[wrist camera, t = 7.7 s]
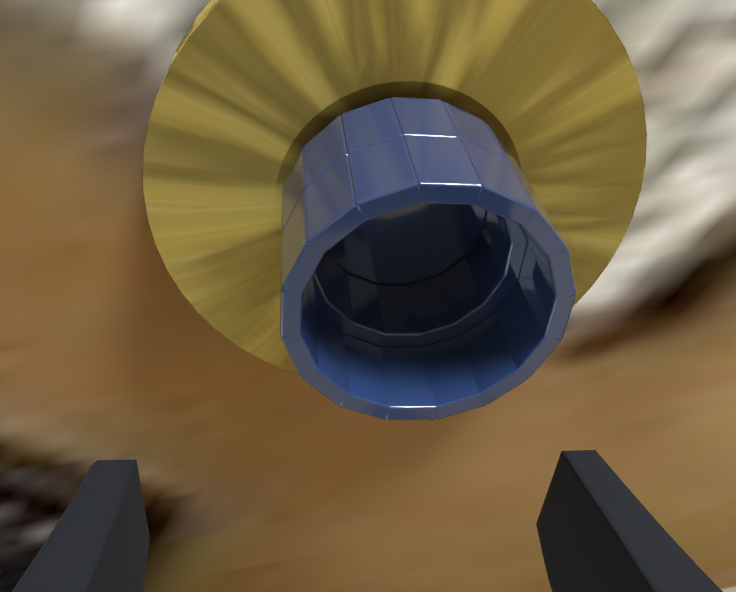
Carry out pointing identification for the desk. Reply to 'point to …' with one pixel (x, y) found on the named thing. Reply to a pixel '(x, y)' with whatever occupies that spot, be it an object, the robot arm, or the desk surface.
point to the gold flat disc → (363, 87)
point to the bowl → (417, 263)
